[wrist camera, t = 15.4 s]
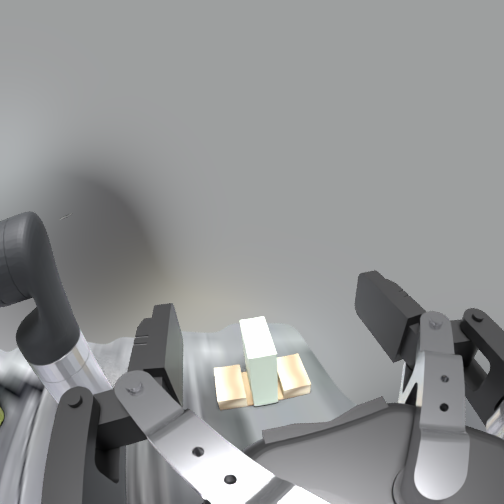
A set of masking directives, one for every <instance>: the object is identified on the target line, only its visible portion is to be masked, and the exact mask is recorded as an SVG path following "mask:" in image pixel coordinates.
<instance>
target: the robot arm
mask: <svg viewBox="0 0 504 504" xmlns="http://www.w3.org/2000/svg"><path fill="white" fill-rule="evenodd" d="M30 298H34V300H35V302H36V305H37V307H36V308H35V309H34V310H33V311H32V312H31V313H30V314H29V315H28V316H26V317H25V319H24V320H23V321H22V322H21V324H20V326H19V327H18V330H17V333H16V341H17V345H18V347H19V349H20V351H21V352H22V354H23V356H24V357H25V359H26V360H27V362H28V363H29V365H30V366H31V368H32V369H33V371H34V372H35V374H36V375H37V376H38V378H39V379H40V381H41V382H42V383H43V385H44V386H45V387H46V389H47V390H48V391H49V393H50V394H51V395H52V397H53V398H54V399H55V400H56V402H57V403H58V408H57V412H56V416H55V420H54V425H53V429H52V434H51V438H50V443H49V449H48V454H47V460H46V466H45V473H44V481H43V490H42V501H41V504H126V445H129V444H132V443H136V442H139V441H143V440H146V439H148V441H149V442H150V443H151V444H152V445H153V446H154V448H155V449H156V450H157V451H158V452H159V453H160V455H161V456H162V457H163V458H164V459H165V460H166V461H167V462H168V463H169V464H170V466H171V467H172V468H173V469H174V470H175V471H176V472H177V473H178V474H179V475H180V476H181V477H182V478H183V479H184V480H185V481H186V482H187V483H188V484H189V485H190V486H191V487H192V488H193V489H194V490H195V491H196V492H197V493H198V494H199V495H200V496H201V497H203V498H204V499H205V500H204V502H203V503H202V504H504V331H503V330H502V329H501V328H500V327H499V326H498V325H497V324H496V323H495V322H494V321H493V320H492V319H491V318H490V317H489V316H488V315H487V314H486V313H484V312H483V311H481V310H479V309H474V308H471V309H467V310H466V311H465V312H464V315H463V318H462V320H454V321H450V320H449V319H448V318H447V317H446V316H445V315H443V314H442V313H439V312H434V311H429V312H426V311H425V310H424V309H423V308H422V307H421V306H420V305H419V304H418V303H417V302H416V301H415V300H413V299H412V298H411V297H410V296H408V294H407V293H406V292H405V291H403V289H402V288H401V287H399V286H398V285H397V284H396V283H394V282H392V281H390V280H388V279H385V278H384V277H383V276H382V275H381V274H380V273H378V272H377V271H370V272H365V273H361V274H360V275H359V277H358V284H357V291H356V298H355V310H356V313H357V315H358V316H359V318H360V319H361V320H362V322H363V323H364V324H365V325H366V327H367V328H368V329H369V331H370V332H371V333H372V335H373V336H374V337H375V338H376V340H377V341H378V343H379V344H380V345H381V347H382V348H383V349H384V351H385V352H386V353H387V355H388V356H389V357H390V359H391V360H392V362H393V363H394V362H397V361H399V360H402V359H404V361H405V363H404V366H403V372H402V379H401V386H400V393H399V399H398V403H386V401H385V400H384V398H383V397H382V396H381V397H379V398H376V399H374V400H371V401H368V402H366V403H363V404H360V405H357V406H355V407H354V408H352V409H350V410H349V411H347V412H345V413H344V414H342V415H340V416H339V417H337V418H335V419H334V420H332V421H329V422H321V423H300V424H291V425H286V426H282V427H277V428H272V429H267V430H262V435H263V439H261V440H259V441H256V442H255V443H253V444H251V445H249V446H248V447H246V448H245V449H244V450H242V451H240V450H238V449H237V448H236V447H235V446H233V445H232V444H231V443H229V442H228V441H227V440H226V439H224V438H223V437H222V436H221V435H220V434H218V433H217V432H216V431H215V430H214V429H212V428H211V427H210V426H209V425H208V424H207V423H205V422H204V421H203V420H202V419H201V418H200V417H199V416H198V415H196V414H195V413H194V412H193V411H192V410H190V409H186V410H185V409H183V338H182V333H181V329H180V326H179V322H178V319H177V315H176V312H175V308H174V305H173V303H169V304H161V305H155V306H154V310H153V315H152V318H146V319H144V320H143V321H142V322H141V323H140V325H139V326H138V327H137V331H136V336H135V337H136V338H135V340H134V345H133V348H132V353H131V357H130V362H129V367H128V372H127V373H125V374H124V375H122V376H121V377H120V378H119V379H118V380H117V382H116V384H115V387H114V388H112V386H111V384H110V383H109V381H108V380H107V378H106V376H105V374H104V373H103V371H102V369H101V368H100V366H99V364H98V362H97V360H96V359H95V357H94V355H93V353H92V351H91V349H90V348H89V346H88V344H87V342H86V340H85V338H84V336H83V334H82V332H81V330H80V328H79V326H78V324H77V322H76V319H75V317H74V315H73V312H72V309H71V306H70V304H69V301H68V298H67V296H66V293H65V291H64V288H63V285H62V282H61V280H60V277H59V273H58V270H57V267H56V263H55V260H54V256H53V252H52V248H51V245H50V241H49V238H48V235H47V232H46V229H45V227H44V225H43V222H42V221H41V219H40V218H39V216H37V214H36V213H34V212H25V213H21V214H18V215H16V216H13V217H11V218H8V219H5V220H3V221H0V307H5V306H9V305H11V304H14V303H17V302H20V301H23V300H27V299H30ZM478 349H479V350H480V351H481V352H482V353H483V355H484V356H485V357H486V358H487V359H488V361H489V362H490V371H489V373H488V375H487V374H486V372H485V371H484V370H483V369H482V368H481V366H480V365H479V364H478V363H477V361H476V360H475V359H474V356H475V355H476V352H477V350H478ZM465 397H466V398H467V399H468V401H469V402H470V404H471V405H472V407H473V408H474V410H475V411H476V412H477V414H478V416H479V417H480V419H481V420H482V422H483V423H484V425H485V427H486V431H487V433H486V432H483V431H480V430H477V429H474V428H471V427H468V426H465Z"/></svg>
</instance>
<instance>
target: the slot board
mask: <svg viewBox="0 0 504 504" xmlns="http://www.w3.org/2000/svg"><path fill="white" fill-rule="evenodd" d="M214 373H215V382H216V391H217V400H218V404H219V408H220V410H225V409H232V408H239V407H245V406H251V405H254V402H253V398H252V394H251V389H250V385H249V380H248V375H247V372H242V373H241V369H240V365H233V366H226V367H219V368H214ZM277 377H278V400H283V399H287V398H292V397H296V396H300V395H304V394H308V393H310V388H311V383H310V381H309V378H308V376H307V374H306V371H305V369H304V367H303V364H302V362H301V360H300V357H299V355H298V354H294V355H289V356H284V357H279V358H277Z"/></svg>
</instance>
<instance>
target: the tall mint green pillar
mask: <svg viewBox="0 0 504 504" xmlns="http://www.w3.org/2000/svg"><path fill="white" fill-rule="evenodd" d="M240 327H241V335H242V342H243V350H244V357H245V364H246V371H247V375H248V380H249V385H250V389H251V394H252V398H253V402H254V407H255V406H260V405H266V404H271V403H276V402H278V377H277V353H276V350H275V347H274V344H273V341H272V338H271V335H270V332H269V329H268V326H267V323H266V321H265V318H264V316H263V317H257V318H251V319H245V320H240Z"/></svg>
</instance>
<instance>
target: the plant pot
mask: <svg viewBox="0 0 504 504" xmlns="http://www.w3.org/2000/svg"><path fill="white" fill-rule="evenodd" d="M3 420H4V412H3V410H2V409H1V407H0V425H1V422H2V421H3Z"/></svg>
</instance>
